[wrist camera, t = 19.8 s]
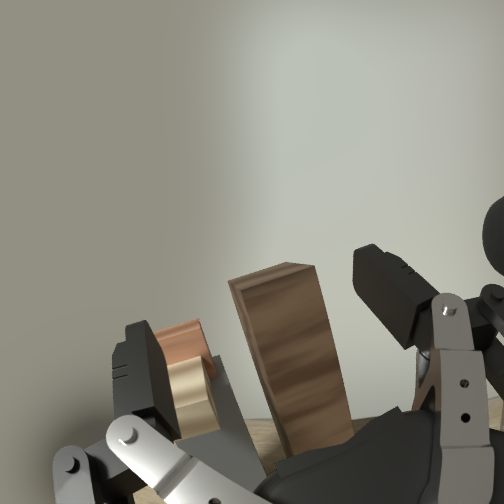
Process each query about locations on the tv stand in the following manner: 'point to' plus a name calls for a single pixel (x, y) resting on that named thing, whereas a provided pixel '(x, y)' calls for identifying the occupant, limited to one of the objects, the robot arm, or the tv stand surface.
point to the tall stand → (294, 355)
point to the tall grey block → (227, 438)
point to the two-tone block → (190, 377)
